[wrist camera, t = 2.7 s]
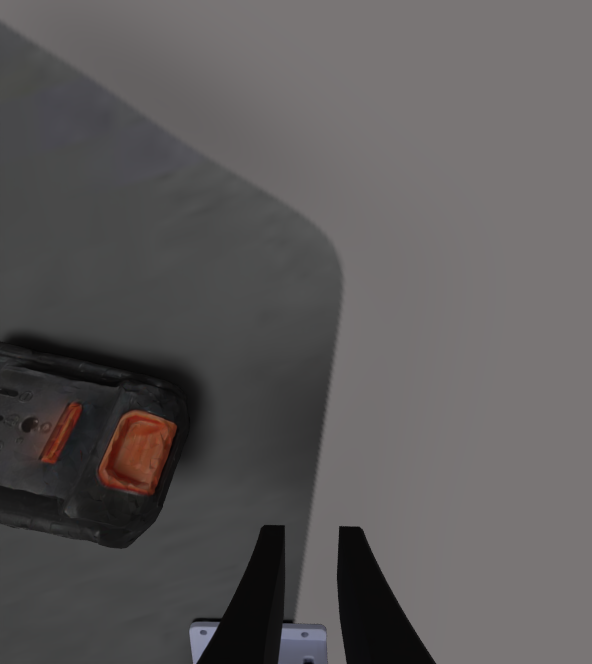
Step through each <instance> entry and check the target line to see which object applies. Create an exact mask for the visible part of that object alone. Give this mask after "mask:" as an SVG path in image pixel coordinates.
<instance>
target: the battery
mask: <svg viewBox="0 0 592 664" xmlns="http://www.w3.org/2000/svg"><path fill="white" fill-rule="evenodd" d="M189 427H190V417H189V416H188V412H187V396H186V395H185V394H184V392H183V391H182V390H181V388H179V387H178V386H176V385H174V384H172V383H170V382H167V381H164V380H161V379H158V378H155V377H151V376H148V375H144V374H138V373H134V372H130V371H126V370H121V369H117V368H113V367H109V366H104V365H98V364H95V363H92V362H88V361H84V360H79V359H75V358H70V357H65V356H61V355H56V354H51V353H43V352H37V351H35V350H32V349H28V348H24V347H20V346H16V345H12V344H7V343H3V342H0V524H4V525H7V526H10V527H13V528H23V529H26V530H35V531H40V532H46V533H50V534H53V535H57V536H62V537H66V538H71V539H79V540H88V541H92V542H95V543H98V544H99V545H102V546H106V547H110V548H120V549H122V548H127V547H128V546H129V545H131V544H132V543H133V542H134V541H135V540H136V539H137V538H138V537H139V536H140V535H141V534H143V533H144V532H145V531H146V530H147V529H148V528H149V527H150V526H151V525H152V524H153V523H154V522H155V521H156V519H157V517H158V515H159V513H160V511H161V510H162V508H163V503H164V501H165V498H166V495H167V492H168V489H169V486H170V483H171V480H172V477H173V474H174V471H175V468H176V466H177V463H178V461H179V458H180V456H181V452H182V448H183V445H184V443H185V441H186V439H187V437H188V433H189Z"/></svg>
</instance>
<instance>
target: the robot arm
mask: <svg viewBox="0 0 592 664" xmlns="http://www.w3.org/2000/svg"><path fill="white" fill-rule="evenodd" d="M337 584H338V585H337V586H338V601H339V614H340V623H341V629H342V636H343V642H344V649H345V655H346V662H347V664H436V663H435V661H434V660H433V658H432V657H431V655H430V654H429V652H428V651H427V649H426V647H425V646H424V644H423V643H422V641H421V640H420V638H419V637H418V635H417V633H416V632H415V630H414V629H413V627H412V625H411V623H410V622H409V620H408V619H407V617H406V615H405V613H404V612H403V610H402V608H401V607H400V605H399V603H398V601H397V599H396V598H395V596H394V594H393V592H392V590H391V589H390V587H389V585H388V583H387V581H386V579H385V577H384V575H383V574H382V572H381V570H380V567H379V565H378V564H377V561H376V559H375V557H374V555H373V553H372V551H371V548H370V546H369V544H368V542H367V539H366V537H365V534H364V531H363V529H361V528H360V527H348V526H345V527H344V526H343V527H342V526H339V544H338V565H337ZM284 593H285V525H264V526H263V527H262V528H261V530H260V534H259V537H258V540H257V543H256V546H255V549H254V551H253V554H252V556H251V559H250V561H249V564H248V566H247V568H246V571H245V573H244V575H243V577H242V579H241V582H240V584H239V586H238V588H237V590H236V592H235V594H234V596H233V598H232V600H231V602H230V604H229V606H228V608H227V610H226V612H225V614H224V616H223V618H222V619H221V621H220V622H194V623H192V624H191V626H190V630H189V633H190V641H191V650H192V658H193V664H328V661H327V644H326V636H327V633H326V627H325V626H324V625H321V624H290V623H283V617H284Z"/></svg>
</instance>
